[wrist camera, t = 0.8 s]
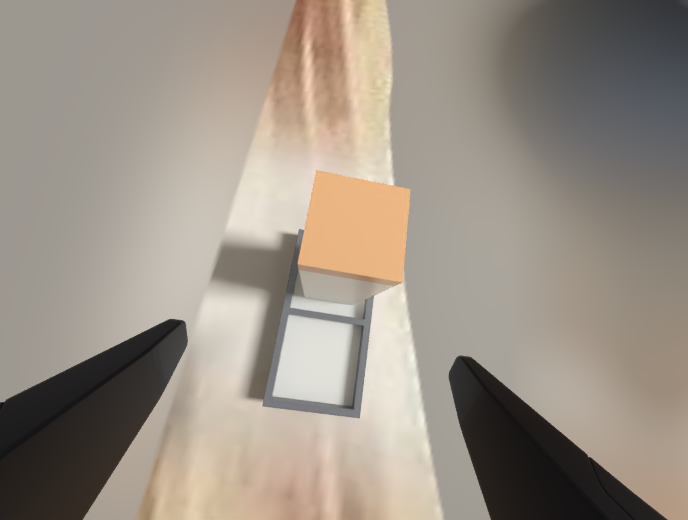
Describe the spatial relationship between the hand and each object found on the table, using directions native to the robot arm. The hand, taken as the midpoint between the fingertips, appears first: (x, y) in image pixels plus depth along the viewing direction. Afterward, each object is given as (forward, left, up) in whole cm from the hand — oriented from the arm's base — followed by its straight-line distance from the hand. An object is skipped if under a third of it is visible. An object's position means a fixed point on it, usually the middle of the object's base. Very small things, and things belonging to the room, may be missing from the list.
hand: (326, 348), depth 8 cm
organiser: (+1, 0, -13) cm, 13 cm away
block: (+4, +2, -12) cm, 13 cm away
